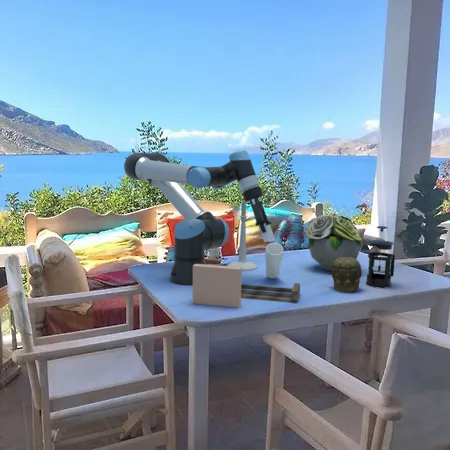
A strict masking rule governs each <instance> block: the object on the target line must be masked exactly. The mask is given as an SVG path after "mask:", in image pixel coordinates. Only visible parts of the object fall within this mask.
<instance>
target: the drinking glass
mask: <svg viewBox="0 0 450 450" xmlns="http://www.w3.org/2000/svg"><path fill="white" fill-rule="evenodd" d="M283 257H284V246H282V245H281V244H280V243H277V242H269V243H268V244H267V245H266V247H265V255H264V258H265V275H266V276H267V278H269V279H276V278H278V277H279V275H280V269H281V265H282V260H283Z"/></svg>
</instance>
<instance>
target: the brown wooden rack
mask: <svg viewBox="0 0 450 450" xmlns="http://www.w3.org/2000/svg"><path fill="white" fill-rule="evenodd" d="M300 292H301V283H299V282H298V283H297V282H295V283H294V284H293V287H280V286H271V285H261V284H260V285H258V284H247V283H241V299H250V300H251V299H252V300H262V301H263V300H265V301H272V302H286V303H295V304H298V301H299V297H300V295H301V294H300Z"/></svg>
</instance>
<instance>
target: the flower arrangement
mask: <svg viewBox="0 0 450 450" xmlns="http://www.w3.org/2000/svg"><path fill="white" fill-rule="evenodd" d="M305 235H306V237H307V238H308V250H309V252H310V256H311V258H312V259H313V260H314V261H315V262H317V263H318V264H320V265H321V266H322V269H323V270H325V271H328V272H331V269H332V264H333V262H334V261H335V260H336V259H337V258H340V257H342V258H343V257H346V258H347V257H351V258H355V259H356V260H358V259H357V258H358V256H359V253H360V248H362V245H361V244H362V243H361V242H362V241H361V240H363V239H362V237H361V235H360V234H359V233H358V231H357V230H356V227H354V225H352V220H351V218H348V217H347V216H343V215H338V214H335V213H333V214H332V213H330V214H329V213H327V214H322V215H317V216H316V217H315V218H314V220H313V221H312V222H311V223H309V224H308V225H307V229H306V230H305Z"/></svg>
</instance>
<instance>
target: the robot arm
mask: <svg viewBox="0 0 450 450" xmlns="http://www.w3.org/2000/svg"><path fill="white" fill-rule="evenodd" d="M228 158H229V161H228V162H227V163H225V164H223V165H220V166H197V165H189V164H183V163H174V162H172V160H171V158H169V157H168V155H166V154H164V153H161V152H136V153H135V152H134V153H132V154H130V155H128V156H127V158H125V161H124V164H123V169H124V173H125V174H126V175H127V176H128V178H130V179H132V180H135V181H148V182H149V184H150V185H151V186H152V187H153V188H158V189H159V191H160V192H161V193H162V195H163V196H165V198H166V199H167V200H168V201H169V203H171V205H172V206H173V207H174V208H175V209H176V211H177V212H178V213H179V214H180V215H181V216H182V218H183V219H184V220H180V221H179V222H177V223H176V224H175V225H174V233H173V234H174V235H173V236H174V262H173V265H172V268H171V271H170V277H169V278H170V279H169V280H170V281H171V282H173V283H175V284H178V285H179V284H180V285H193V265H195V264H205V265H207V264H206V262H205V251H208V250H212V249H217V248H220V247H221V246H222V247H223V246H224V245H225V244H226V243H227V242H228V240H229V236H230V228H229V226H228V223H227V222H226V221H225V220H224V219H222V218H219V217H217V218H216V217H215V216H214V214H212V212H211V211H209V210H207V211H206V210H204V209H203V207H201V205H200V204H199V203H198V202H197V201H196V199H194V197H193V196H192V194H190V193H189V191H188V190H187V189H186V188H185V187H184V186H183V185H188V186H190V187H193V188H198V189H203V188H210V187H211V188H213V189H215V190H218V189H222V188H225V186H227V185H230V184H231V183H234V182H235V181H237V184H238V187H239V189H240V191H241V192H242V197H243V199H244V200H243V201H246V203H247V202H249V203H250V207H251V208H252V212H253V215H254V216H253V217H254V219H255V226H256V227H258V229H259V231H260V234H261V237H262V240H263V243H267V242H268V243H272V242H274V241H276V237H275V236H274V233H273V229H272V227H271V225H272V221H270V220H269V218H268V216H267V214H266V211H265V208H264V206H263V205H264V204H263V202H262V201H260V198H261V197H263V196H264V191H263V190H262V187H261V186H260V182H259V180H260V177H258V176H257V173H256V171H255V168H254V165H253V163H252V162H253V161H252V159H251V157H250V155H249V153H248V151H247V150H246V149H238V150H236V151H234V152H231V153H230V154H229V155H228Z"/></svg>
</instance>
